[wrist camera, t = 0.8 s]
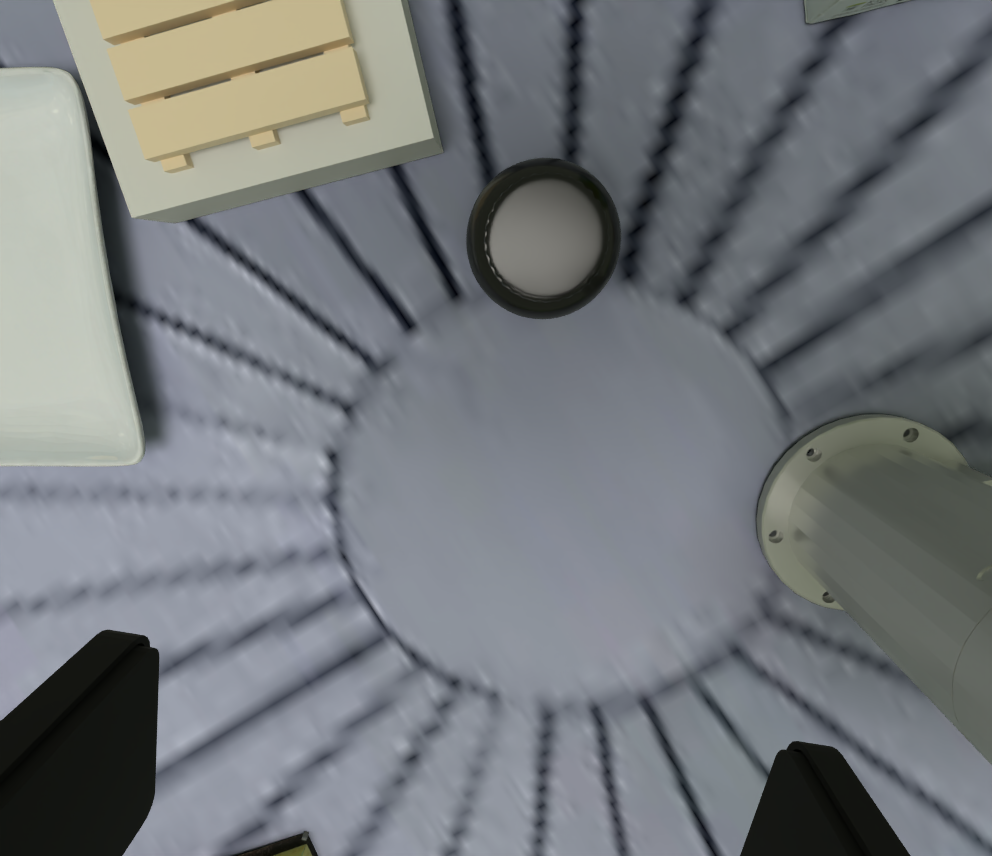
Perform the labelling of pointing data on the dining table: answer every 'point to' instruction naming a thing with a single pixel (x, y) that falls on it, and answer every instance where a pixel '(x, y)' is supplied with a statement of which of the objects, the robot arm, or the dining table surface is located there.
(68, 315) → the salad plate
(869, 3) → the tea box
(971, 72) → the dining table surface
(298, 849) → the book
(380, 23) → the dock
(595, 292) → the supplement bottle
